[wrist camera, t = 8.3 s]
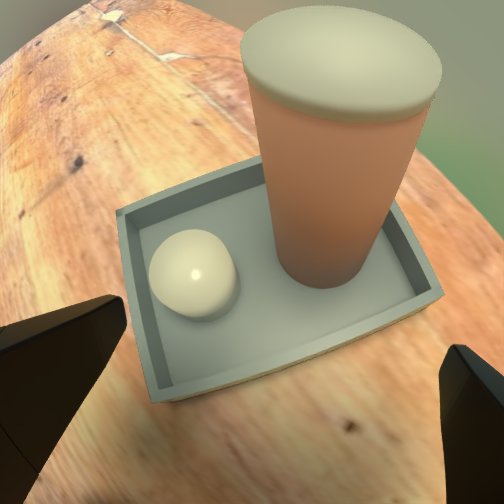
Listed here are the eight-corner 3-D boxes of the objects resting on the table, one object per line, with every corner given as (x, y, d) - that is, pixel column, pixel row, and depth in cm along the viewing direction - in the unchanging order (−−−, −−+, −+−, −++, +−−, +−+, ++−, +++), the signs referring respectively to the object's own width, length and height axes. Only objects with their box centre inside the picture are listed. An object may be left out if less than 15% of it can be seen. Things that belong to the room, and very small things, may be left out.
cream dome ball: (178, 332, 18) (157, 321, 15) (162, 265, 20) (142, 245, 17) (250, 308, 18) (241, 293, 15) (228, 241, 20) (217, 217, 17)
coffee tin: (283, 298, 18) (257, 118, 6) (267, 212, 20) (230, 15, 8) (378, 278, 18) (479, 102, 6) (353, 197, 20) (387, 6, 8)
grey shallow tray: (173, 401, 17) (151, 403, 14) (135, 231, 22) (115, 210, 19) (425, 308, 17) (445, 294, 15) (344, 157, 22) (348, 129, 20)
